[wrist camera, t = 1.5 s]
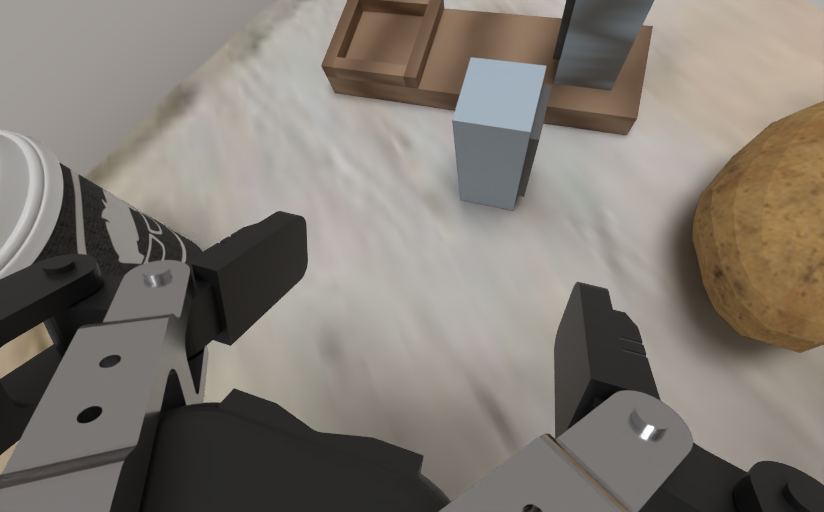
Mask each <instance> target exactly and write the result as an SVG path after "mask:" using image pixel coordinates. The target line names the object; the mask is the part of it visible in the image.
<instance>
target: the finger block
mask: <svg viewBox="0 0 824 512" xmlns="http://www.w3.org/2000/svg"><path fill="white" fill-rule="evenodd" d="M545 70H546V66H544V65H535V64H526V63H517V62H509V61H500V60H491V59H482V58H473V57H471V59H470V62H469V65H468V69H467V72H466V76H465V79H464V82H463V86H462V89H461V92H460V96H459V99H458V103H457V106H456V109H455V113H454V116H453V120H452V123H453V133H454V142H455V152H456V162H457V172H458V182H459V192H460V200H463V201H468V202H473V203H478V204H483V205H488V206H493V207H498V208H503V209H508V210H513V209H514V205H515V201H516V196H523V197H524V195H525V191H526V187H527V183H528V180H529V176H530V172H531V168H532V165H533V161H534V157H535V153H536V150H537V146H538V142H539V138H540V134H541V130H542V125H543V121H544V117H545V112H546V108H547V104H548V100H549V95H550V91H551V87H552V85H546V84H543V79H544V75H545Z"/></svg>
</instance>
